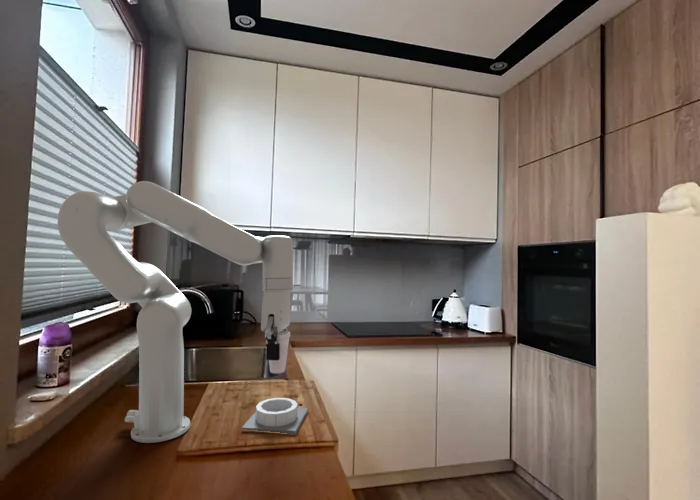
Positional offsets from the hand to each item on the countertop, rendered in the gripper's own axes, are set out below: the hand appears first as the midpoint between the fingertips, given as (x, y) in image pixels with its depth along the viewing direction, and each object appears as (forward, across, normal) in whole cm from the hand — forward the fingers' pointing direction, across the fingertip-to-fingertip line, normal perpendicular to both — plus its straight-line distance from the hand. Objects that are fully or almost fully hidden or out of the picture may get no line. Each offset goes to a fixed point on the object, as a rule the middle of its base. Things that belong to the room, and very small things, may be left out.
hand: (277, 355), depth 96 cm
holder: (+17, 0, 0) cm, 17 cm away
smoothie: (+4, 0, 0) cm, 4 cm away
